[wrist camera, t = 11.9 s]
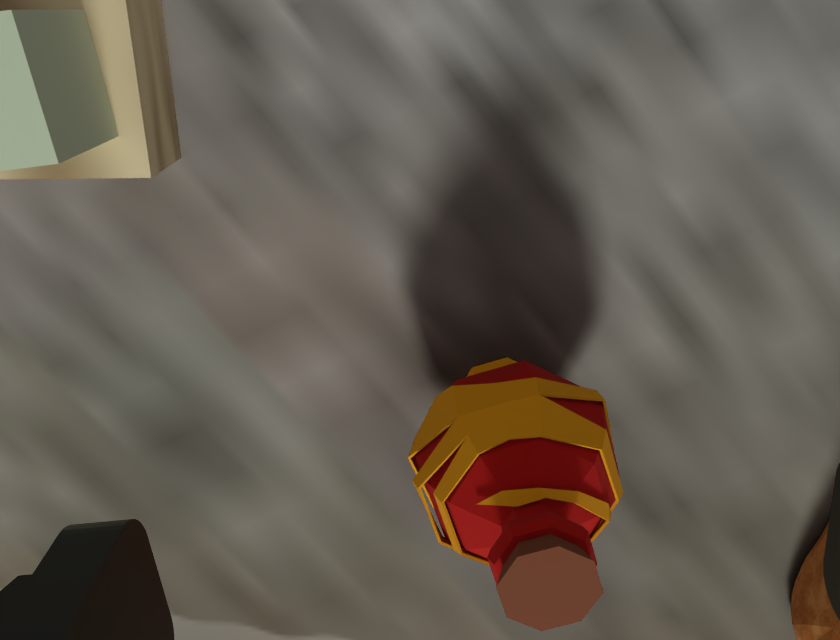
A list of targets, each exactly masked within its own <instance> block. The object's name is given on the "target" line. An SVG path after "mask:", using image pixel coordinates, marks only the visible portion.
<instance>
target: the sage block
mask: <svg viewBox="0 0 840 640" xmlns="http://www.w3.org/2000/svg"><path fill="white" fill-rule="evenodd" d="M118 136H119V135H118V131H117V128H116V124H115V120H114V117H113V113H112V109H111V106H110V102H109V98H108V95H107V91H106V87H105V84H104V80H103V76H102V73H101V69H100V65H99V62H98V58H97V54H96V51H95V47H94V43H93V40H92V36H91V32H90V29H89V25H88V21H87V18H86V14H85V10H84V9H54V10H5V11H0V171H5V170H13V169H21V168H29V167H37V166H45V165H53V164H59V163H62V162H64V161H66V160H68V159H70V158H72V157H75V156H77V155H79V154H81V153H83V152H86V151H88V150H90V149H92V148H94V147H97V146H99V145H101V144H103V143H105V142H107V141H110V140H112V139H114V138H116V137H118Z"/></svg>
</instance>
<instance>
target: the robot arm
mask: <svg viewBox="0 0 840 640" xmlns="http://www.w3.org/2000/svg"><path fill="white" fill-rule="evenodd" d="M823 574H824V582H825V587H826V590H827V594H828V597H829V600H830V603H831V605H832V607H833V610H834V611H835V613H836V615H837V617H838V619H839V620H840V463H839V466H838V468H837V472H836V478H835V485H834V492H833V499H832V505H831V512H830V519H829V526H828V532H827V539H826V546H825V553H824V560H823ZM0 640H174V629H173V623H172V619H171V614H170V611H169V607H168V604H167V601H166V597H165V594H164V590H163V587H162V584H161V580H160V577H159V573H158V570H157V567H156V563H155V560H154V556H153V553H152V550H151V546H150V543H149V539H148V536H147V533H146V530H145V529H144V527H143V525H142V524H141V522H139V521H138V520H136V519H129V520H118V521H108V522H97V523H86V524H75V525H69V526H67V527H65V528H64V529H63V530H62V531H61V532H60V533H59V535H58V536H57V538H56V539H55V541H54V542H53V544H52V545H51V547H50V548H49V550H48V551H47V553H46V554H45V556H44V557H43V559H42V561H41V562H40V564H39V565H38V567H37V568H36V570H35V571H34V573H33V574H31V575H21V576H17V577H16V578H15V579H14V580H13V581H12V582H10V583H9V584H8V585H7V586H6V587H5V588H3V589H2V590H1V591H0Z"/></svg>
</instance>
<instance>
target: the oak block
mask: <svg viewBox="0 0 840 640" xmlns="http://www.w3.org/2000/svg"><path fill="white" fill-rule="evenodd" d="M54 9H84V10H85V14H86V18H87V21H88V25H89V29H90V32H91V36H92V40H93V43H94V47H95V51H96V54H97V58H98V62H99V65H100V69H101V73H102V76H103V80H104V84H105V87H106V91H107V95H108V98H109V102H110V106H111V109H112V113H113V117H114V120H115V124H116V128H117V131H118V135H119V136H118V137H116V138H114V139H112V140H110V141H107V142H105V143H103V144H101V145H99V146H97V147H94V148H92V149H90V150H88V151H86V152H83V153H81V154H79V155H77V156H75V157H72V158H70V159H68V160H66V161H64V162H62V163H59V164H53V165H45V166H37V167H29V168H21V169H13V170H5V171H0V179H76V178H152V177H153V176H155V175H156V174H158V173H159V172H161V171H162V170H164V169H165V168H167V167H168V166H170V165H171V164H172V163H174V162H175V161H177V160H178V159H180V158H181V152H180V144H179V136H178V128H177V121H176V113H175V105H174V97H173V89H172V81H171V74H170V66H169V58H168V50H167V42H166V34H165V27H164V19H163V11H162V3H161V0H0V11H5V10H54Z"/></svg>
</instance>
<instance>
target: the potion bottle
mask: <svg viewBox="0 0 840 640" xmlns="http://www.w3.org/2000/svg"><path fill="white" fill-rule="evenodd" d="M408 459H409V461H410V463H411V465H412V467H413V469H414V471H415V473H416V476H415V478H414V479H413V481H412V482H413V484H414V486H415V488H416V490H417V492H418V494H419V496H420V498H421V500H422V502H423V504H424V506H425V508H426V511H427V513H428V516H429V518H430V521H431V524H432V526H433V529H434V531H435V534H436V537H437V539H438V542H439V543H440V544H442V545H444V546H446V547H449V548H451V549H453V550H455V551H456V552H457V553H459V554H460V555H462V556H465V557H467V558H470V559H473V560H476V561H478V562H481V563H484V564H487V565H489V566H490V567H491V570H492V573H493V576H494V579H495V582H496V584H497V585H496V588H497V591H498V594H499V597H500V600H501V602H502V605H503V608H504V611H505V614H506V617H507V618H510V619H512V620H515V621H517V622H520V623H523V624H525V625H528V626H530V627H533V628H535V629H538V630H540V631H544V630H548V629H551V628H555V627H559V626H563V625H567V624H571V623H575V622H579V621H581V620H582V619H583V618H584V617H585V615H586V614H587V613H588V611H589V610H590V609H591V608H592V606H593V605H594V604H595V603H596V601H597V600H598V599H599V597H600V596H601V595H602V594H603V590H602V586H601V583H600V579H599V576H598V572H597V568H596V565H597V561H596V558H595V554H594V550H593V547H592V542H593V541H594V539H595V538H596V537H597V536H598V535H599V533H600V532H601V531H602V530H603V529H604V527H605V526H606V525H607V524H608V523H609V521H610V517H611V511H612V510H613V509H614V507H615V506H616V504H617V503H618V501H619V500H620V498H621V496H622V494H623V490H622V486H621V482H620V479H619V472H618V467H617V462H616V458H615V454H614V449H613V443H612V437H611V431H610V425H609V419H608V414H607V408H606V402H605V399H604V398H603V397H602V396H601V395H600V394H599V393H598V392H597V391H596V390H592V389H588V388H583V387H580V386H578V385H576V384H574V383H572V382H570V381H568V380H566V379H564V378H561V377H559V376H557V375H555V374H553V373H551V372H549V371H547V370H545V369H543V368H541V367H538V366H536V365H534V364H532V363H530V362H528V361H526V360H523V361H520V362H516V361H514V360H512V359H510V358H508V357H506V358H503V359H500V360H496V361H493V362H489V363H486V364H482V365H479V366H475V367H472V368H471V370H470V372H469V373H468V375H467V376H466V377H464V378H461V379H457V380H455V381H454V383H453V384H452V386H451V387H449V388H448V389H446V390H445V391H443V392H442V393H440V394H439V395H438V396H436V397H435V399H434V401H433V403H432V405H431V407H430V409H429V411H428V414H427V416H426V418H425V419H424V421H423V423H422V425H421V427H420V429H419V431H418V433H417V435H416V437H415V439H414V442H413V445H412V448H411V450H410V453H409V456H408ZM421 487H423V489H424V491H425V493H426V495H427V497H428V499H429V501H430V503H431V505H432V507H433V508H434V509H435V512H436V515H437V517H438V520H439V523H440V525H441V528H442V530H443V533H444V536H445V537H443V536H442V534H441V532H440V530H439V528H438V526H437V524H436V522H435V520H434V518H433V516H432V514H431V512H430V510H429V508H428V506H427V503H426V500H425V498H424V495H423V493H422V490H421Z"/></svg>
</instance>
